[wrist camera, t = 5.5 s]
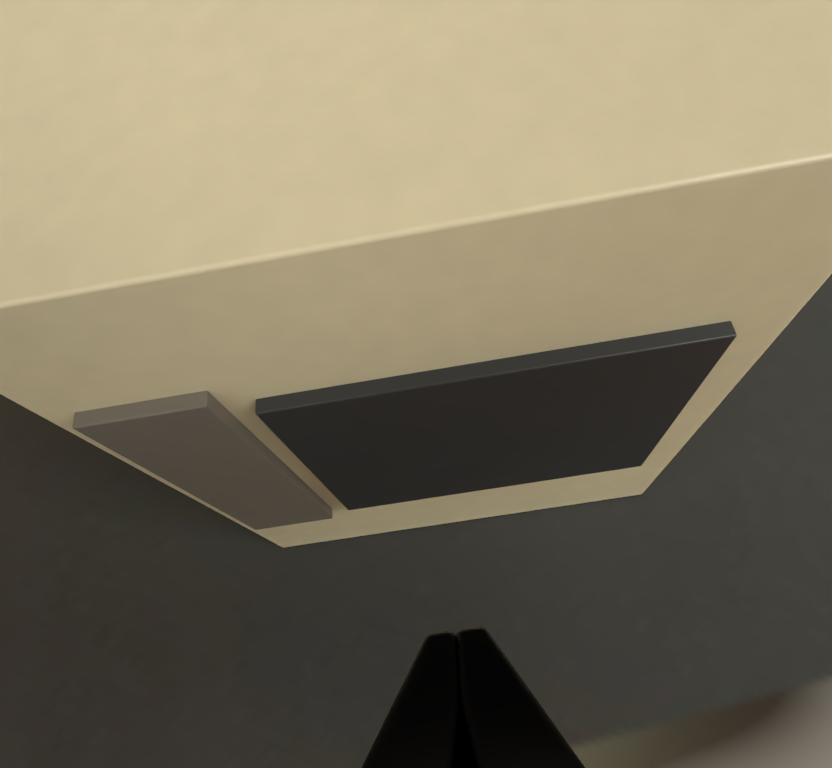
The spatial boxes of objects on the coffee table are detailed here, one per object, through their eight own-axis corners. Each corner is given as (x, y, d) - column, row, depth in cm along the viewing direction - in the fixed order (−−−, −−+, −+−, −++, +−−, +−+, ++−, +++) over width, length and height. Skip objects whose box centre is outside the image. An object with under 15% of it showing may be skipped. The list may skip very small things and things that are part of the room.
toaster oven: (645, 502, 17) (969, 152, 5) (282, 556, 18) (-134, 348, 6) (552, 194, 22) (612, -309, 11) (277, 244, 23) (56, -180, 11)
